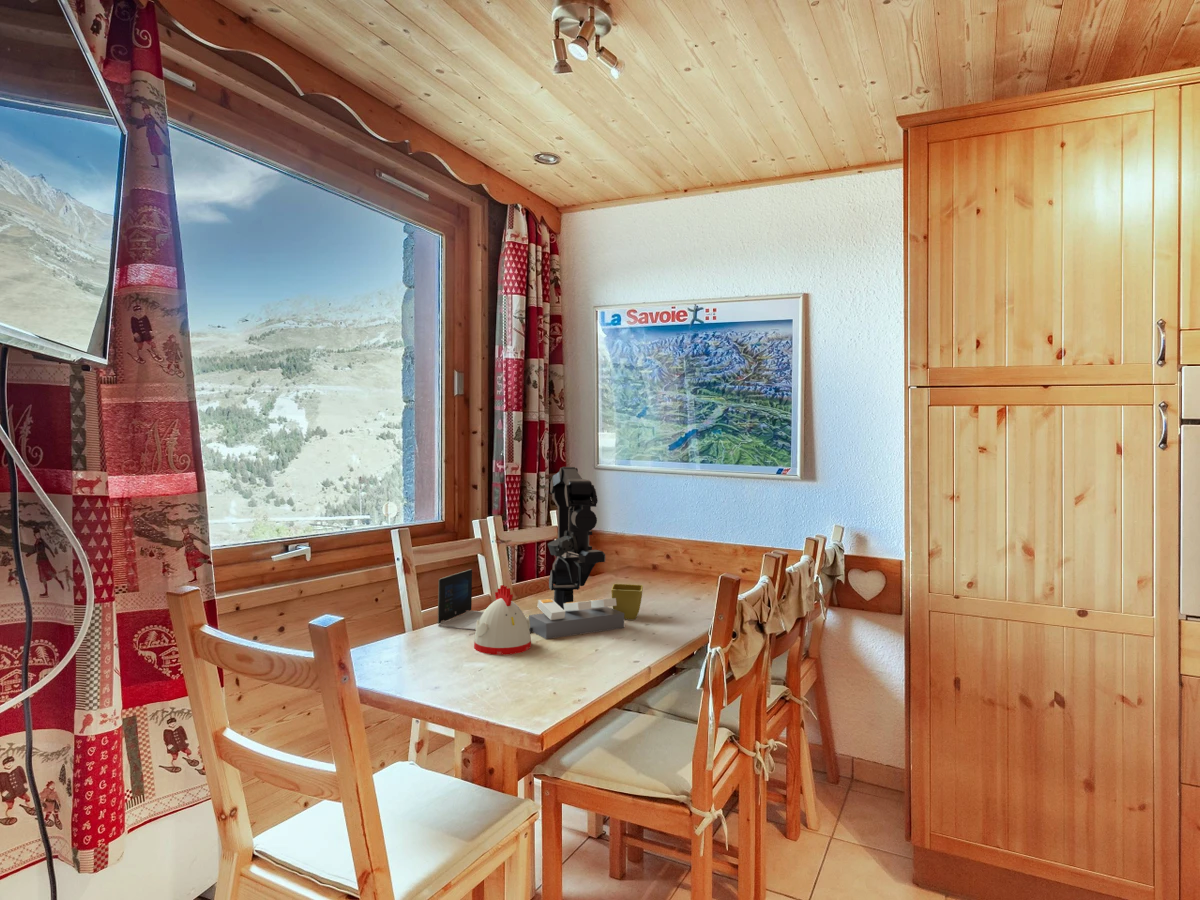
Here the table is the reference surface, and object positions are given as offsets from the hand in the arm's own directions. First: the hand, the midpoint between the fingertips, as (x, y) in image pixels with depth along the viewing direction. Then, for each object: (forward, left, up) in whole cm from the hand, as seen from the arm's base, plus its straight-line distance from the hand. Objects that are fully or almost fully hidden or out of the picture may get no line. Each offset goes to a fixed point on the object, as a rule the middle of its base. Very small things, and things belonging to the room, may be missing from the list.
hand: (577, 584), depth 194 cm
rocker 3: (0, +8, -6) cm, 10 cm away
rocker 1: (0, -8, -6) cm, 10 cm away
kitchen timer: (+6, -24, -12) cm, 28 cm away
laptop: (-21, -21, -12) cm, 32 cm away
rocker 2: (0, 0, -6) cm, 6 cm away
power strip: (0, -3, -12) cm, 12 cm away
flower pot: (-4, +19, -12) cm, 23 cm away
